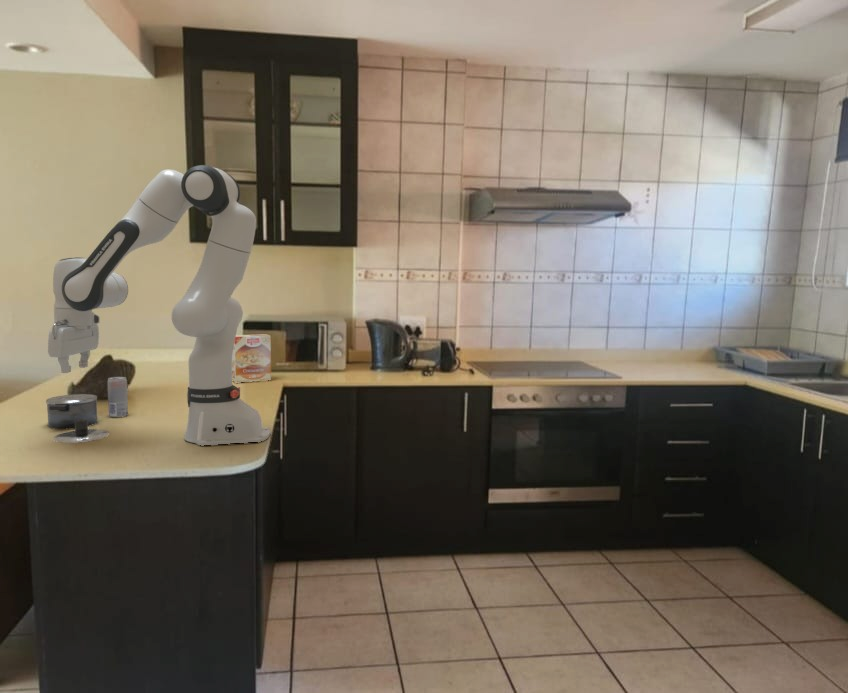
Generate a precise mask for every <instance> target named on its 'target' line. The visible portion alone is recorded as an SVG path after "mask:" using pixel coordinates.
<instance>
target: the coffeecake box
mask: <svg viewBox="0 0 848 693" xmlns="http://www.w3.org/2000/svg"><path fill="white" fill-rule="evenodd" d="M271 338H272V337H271V335H270V334H266V333H262V334H236V337H235V342H234V347H233V353H232V380H233V381H234V382H236V383H238V384H240V383H239V382H252V381H263V380H271V381H272V342H271V341H272V339H271ZM233 381H232V382H233ZM234 382H233V383H234ZM236 383H235V384H236ZM252 383H253V382H252Z"/></svg>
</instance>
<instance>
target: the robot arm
mask: <svg viewBox="0 0 848 693" xmlns="http://www.w3.org/2000/svg"><path fill="white" fill-rule="evenodd" d="M240 198H241V189H240V186H239V184H238V182H237V180H236V179H235V178H234V176H231V175H230V174H228V173H226V172H225V171H224V170H222V169H220V168H217V167H214V166H211V165H206V164H200V165H199V164H198V165H195V166H192V167H190V168H189V169H188V170H186V172H185V173H182V172H180V171H177V170H176V169H170V168H169V169H168V168H167V169H166V168H165V169H163V170H161V171H159V173H157V174H156V176H155V177H153V178H152V179H151V181H150V182H149V183H147V185H146V187H145V188H144V189H143V190H142V192H141V193H140V194H139V196H138V197H137V198H136V199H135V202H133V204H132V206H131V207H130V208H129V210H128V211H127V212H126V214H124V216H123V217H122V218H121V219H120V220H119V221H118V222H117V223H116V224H115V225H114V226H113V228H111V230H109V231H108V233H106V235H105V236H104V238H103V239H102V240H100V242H99V243H98V245H97V246H96V247H95V249H94V250H93V251H92V252H91V254H90V255H89V256H88V257H87V258H86V257H77V256H76V257H68V258H67V257H66V258H61V259H60V260H57V261H56V263H55V264H54V269H53V273H52V274H53V276H52V283H53V284H52V287H53V288H52V289H53V290H52V291H53V295H54V299H55V300H54V304H53V312H54V313H53V318H54V319H53V320H54V323H53V325H52V327H51V328H50V330H49V331H48V332H49V333H48V340H47V341H48V342H47V348H48V349H47V354H48V356H49V357H50V358H57V361H58V363H59V365H60V370H61V373H62V374H68V373H71V371H72V366H71V365H70V363H69V360H70V356H74V355H78V354H79V355H80V360H79V361H78V367H79V368H81V369H83V368H87V367H88V366H89V359H90V357H91V356H90V355H91V351H93V350H94V351H95V350H97V348H98V345H99V340H100V339H99V337H100V336H99V335H100V334H99V333H100V332H99V329H100V328H99V325H98V324H100V323H101V321H100V320H101V318H100V317H101V316H99V315H98V314H96V313H95V312H93V310H95V309H97V310H98V309H106V308H112V307H117V306H119V305H122V304H123V303H124V302H125V301H126V299H127V297H128V296H129V287H128V282H127V281H126V279H125V277H123V276H122V275H121V274H119V273H117V272H115V270H116V269H117V268H118V266H120V264H121V263H122V261H123V260H124V259H125V258H126V257H127V256H128V255H129V254H131V252H133V251H135V250H138V249H140V248H142V247H145V246H149V245H153V244H157V243H159V242H160V243H161V242H162V241H163V240H164V239H165V238H166V237H168V236H169V235H170V234H171V233H172V232H173V230H174V229H175V228H176V226H177V225H178V224H179V222H180V220H181V219H182V217H183V216H184V214H185V213H186V212H187V211H188V210H189V209H190V208H192V207H194V208H196V209H198V211H201V212H202V213H203V214H204V215H206V216H208V217H211V219H212V221H211V222H212V223H211V230H210V232H209V235H208V239H207V243H206V246H205V249H204V252H203V256H202V259H201V263H200V265H199V268H198V270H197V272H196V274H195V276H194V278H193V279H192V281H191V283H190V285H189V286H188V289H187V290H186V292H185V294H184V295H183V296H182V298H180V299H179V301H178V302H176V303H175V305H174V306H173V308H172V311H171V321H172V325H173V327H174V328H175V330H176V331H177V332H179V333H180V334H182V335H184V336H188V337H193V338H195V342H194V347H193V349H192V351H191V353H190V355H189V357H188V383H189V384H188V385H189V386H188V387H187V394H186V396H187V397H186V398H187V399H186V401H187V406H188V417H187V425H186V430H185V434H184V438H183V439H184V440H185V441H187V442H188V443H192V444H193V443H194V444H196V445H198V446H200V445H201V447H205V446H204V445H211V446H219V445H218V444H228V445H231V444H230V443H244V444H248V443H247V442H258V443H261V441H262V442H264V441H266V440H267V439H268V438H270V435H271V430H270V428H269V427H266V426H263V422H262V418H261V414H260V412H259V411H258V410H257V409H256V408H254V407H252V406H251V405H249V404H248V403H246V401H244V400H243V399H241V387H240V386H238V387H237V386H236V385H233V381H232V353H233V347H234V342H235V337H236V335H237V331H238V327H239V325H240V323H241V321H242V318H243V308H242V305H241V304H240V302H239V301H238V300H236V298H234V297H231V296H232V295H233V293H234V292H235V290H236V289H237V287H238V286H239V285H240V284H241V283H242V281H243V279H244V275H245V272H246V269H247V266H248V262H249V259H250V257H251V256H250V255H251V251H252V249H253V244H254V240H255V236H256V229H257V228H256V226H257V217H256V215H255V213H254V212H253V211H252V210H251V209H250V208H249V207H247V206H245V205H243V204H240V203H239V201H240Z"/></svg>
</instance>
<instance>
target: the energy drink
mask: <svg viewBox="0 0 848 693" xmlns="http://www.w3.org/2000/svg"><path fill="white" fill-rule="evenodd" d="M107 400H108V401H107V402H108V404H107V405H108V416H109V418H112V417H120V418H123V417H122V416H125V417H127V416H128V415H129V406H128V405H129V402H128V400H129V399H128V380H127V377H126V376H112V377H108V378H107ZM126 415H127V416H126Z"/></svg>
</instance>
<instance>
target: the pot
mask: <svg viewBox="0 0 848 693" xmlns="http://www.w3.org/2000/svg"><path fill="white" fill-rule="evenodd" d="M97 399H98V395H96V394H89V393H87V394H86V393H76V394H67V395H66V394H64V395H58V396H53V397H49V398H47V399H46V400H45V403H46V405H47V406H46V409H47V427H48V426H49V427H48V428H50V429H53V428H55V429H54V430H70V429H69V428H73V429H75V421H76V420H87V422H88V427H90V426H89V425H91V426H93V425H92V424H94V425H96V424H98V407H97V406H98V405H97V404H98V403H97V402H98V401H97ZM95 423H96V424H95ZM66 428H68V429H66Z"/></svg>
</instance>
